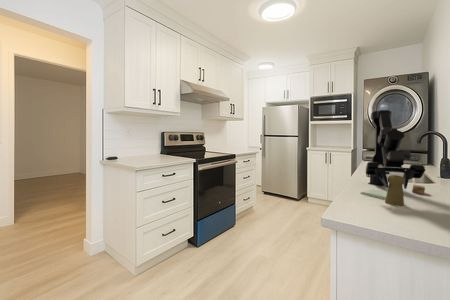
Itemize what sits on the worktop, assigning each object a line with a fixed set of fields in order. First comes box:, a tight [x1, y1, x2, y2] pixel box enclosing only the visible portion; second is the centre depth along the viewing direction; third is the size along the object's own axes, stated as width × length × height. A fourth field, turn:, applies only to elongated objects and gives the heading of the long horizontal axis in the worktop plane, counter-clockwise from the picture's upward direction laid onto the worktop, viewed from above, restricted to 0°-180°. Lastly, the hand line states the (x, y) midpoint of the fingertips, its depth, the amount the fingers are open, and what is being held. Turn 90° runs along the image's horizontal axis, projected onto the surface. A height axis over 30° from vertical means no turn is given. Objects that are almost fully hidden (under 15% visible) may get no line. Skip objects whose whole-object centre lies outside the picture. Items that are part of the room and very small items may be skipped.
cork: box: [384, 174, 405, 207], centre depth 88 cm, size 6×6×11 cm
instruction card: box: [384, 186, 417, 195], centre depth 108 cm, size 12×9×1 cm
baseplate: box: [360, 188, 387, 200], centre depth 100 cm, size 11×11×1 cm
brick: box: [411, 184, 426, 195], centre depth 104 cm, size 4×4×3 cm
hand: (396, 187), depth 87 cm, fingers open, 5 cm apart
